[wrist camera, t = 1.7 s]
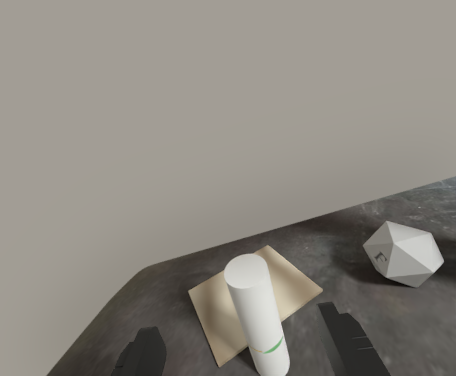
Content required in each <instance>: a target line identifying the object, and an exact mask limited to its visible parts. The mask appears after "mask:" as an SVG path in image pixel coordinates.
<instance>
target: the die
mask: <svg viewBox="0 0 456 376" xmlns="http://www.w3.org/2000/svg"><path fill="white" fill-rule="evenodd" d="M363 247H364V249H365V251H366V253H367V254H368V256H369V258H370V260H371V262H372V263H373V265H374V267H375V269H376V270H377V271H378V272H380V273H381V274H382V275H383V276H385V277H386V278H389V279H392V280H395V281H397V282H400V283H403V284H406V285H409V286H412V287H415V288H418V287H419V286H420V285H421V284H422V283H423V282H424V281H425V280H426V279H428V278H429V277H430V276H431V275H432V274H433V273H434V272H435V271H436V270H437V269H438V268H439V267H440V266H441V265H442V264H443V263H444V260H443V258H442V255H441V253H440V251H439V249H438V247H437V245H436V243H435V240H434V238H433V236H432V234H431V233H429V232H426V231H422V230H418V229H415V228H411V227H407V226H404V225H400V224H396V223H393V222H389V221H386V222H385V223H384V224H383V225H382V226H381V227H380V228H379V229H378V230H377V231H376V232H375V233H374V234H373V235H372V236H371V237H370V238H369V239H368V240H367V242H366V243H365V244H364V245H363Z"/></svg>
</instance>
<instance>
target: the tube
mask: <svg viewBox="0 0 456 376" xmlns="http://www.w3.org/2000/svg"><path fill="white" fill-rule="evenodd" d="M224 278H225V281H226V284H227V287H228V290H229V292H230V295H231V298H232V301H233V304H234V307H235V310H236V313H237V315H238V318H239V321H240V324H241V327H242V330H243V333H244V335H245V338H246V341H247V344H248V347H249V350H250V352H251V355H252V358H253V361H254V364H255V367H256V369H257V371H258V373H259V374H260V376H285V375H286V374H287V372H288V369H289V364H290V361H289V355H288V351H287V347H286V343H285V338H284V334H283V330H282V326H281V321H280V317H279V313H278V309H277V304H276V300H275V296H274V292H273V287H272V283H271V279H270V275H269V270H268V266H267V263H266V261H265V260H264V259H263V258H262V257H260V256H258V255H255V254H244V255H240V256H238V257H236V258H234V259H233V260H231V261H230V262H229V263H228V264H227V266H226V268H225V270H224Z"/></svg>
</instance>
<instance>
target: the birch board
mask: <svg viewBox="0 0 456 376" xmlns="http://www.w3.org/2000/svg"><path fill="white" fill-rule="evenodd" d="M253 254H255V255H258V256H260V257H262V258H263V259H264V260H265V261H266V263H267V266H268V270H269V275H270V279H271V283H272V287H273V292H274V296H275V300H276V304H277V309H278V313H279V317H280V321H281V322H282V321H283V320H284V319H286V318H287V317H288V316H290V315H291V314H293V313H294V312H295V311H297V310H298V309H299V308H301V307H302V306H303V305H305V304H306V303H307V302H309V301H310V300H312V299H313V298H314V297H316V296H317V295H318V294H320V293H321V292H322V291H323V290H322V289H321V288H320V287H319V286H317V285H316V284H315V283H314V282H313V281H311V280H310V279H309V278H308V277H307V276H305V275H304V274H303V273H302V272H300V271H299V270H298V269H297V268H296V267H294V266H293V265H292V264H291V263H289V262H288V261H287V260H286V259H285V258H283V257H282V256H281V255H280V254H278V253H277V252H276V251H275V250H274V249H272V248H271V247H270V246H269V245H267V246H265V247H263V248H262V249H260V250H258V251H257V252H255V253H253ZM188 292H189V295H190V297H191V300H192V302H193V305H194V307H195V310H196V312H197V314H198V317H199V319H200V322H201V324H202V327H203V329H204V332H205V334H206V337H207V339H208V342H209V344H210V347H211V349H212V352H213V354H214V356H215V359H216V361H217V364H218V366H219V367H221V366H222V365H223V364H225V363H226V362H227V361H229V360H230V359H232V358H233V357H234V356H236V355H237V354H238V353H240V352H241V351H242V350H244V349H245V348H246V347H248V344H247V341H246V338H245V335H244V333H243V330H242V327H241V324H240V321H239V318H238V315H237V313H236V310H235V307H234V304H233V301H232V298H231V295H230V292H229V290H228V287H227V284H226V281H225V278H224V271H222V272H220V273H218V274H217V275H215V276H213V277H211V278H210V279H208V280H206V281H205V282H203V283H201V284H199V285H198V286H196V287H194V288H192V289H191V290H189V291H188Z"/></svg>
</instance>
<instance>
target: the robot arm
mask: <svg viewBox="0 0 456 376" xmlns="http://www.w3.org/2000/svg"><path fill="white" fill-rule="evenodd" d="M316 314H317V322H318V329H319V333H320V337H321V340H322V342H323V345H324V348H325V350H326V353H327V355H328V358H329V360H330V363H331V366H332V368H333V371H334V373H335V376H391V375H390V374H389V372H388V370H387V369H386V367H385V365H384V364H383V362H382V360H381V359H380V357H379V355H378V354H377V352H376V350H375V349H374V348H373V345H372V344H371V342H370V340H369V339H368V338H367V336H366V334H365V332H364V330H363V329H362V327H361V325H360V324H359V322H357V321H356V320H355V319H354V318H353V317H352V316H351V315H350V314H348V313H344V314H339V313H338V311H337V309H336V307H335V306H334V304H333V303H332V302H325V303H319V304H316ZM165 361H166V347H165V344H164V342H163V340H162V337H161V335H160V333H159V330H158V328H157V327H156V326H154V327H147V328H141V329H140V330H139V331H138V333H137V336H136V338H135V340H134V342H130V343H129V344H128V345H127V347H126V348H125V349H124V350H123V352H122V353H121V355H120V357H119V359H118V361H117V363H116V365H115V369H113V372H112V374H111V376H161V375H162V372H163V368H164V365H165Z"/></svg>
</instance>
